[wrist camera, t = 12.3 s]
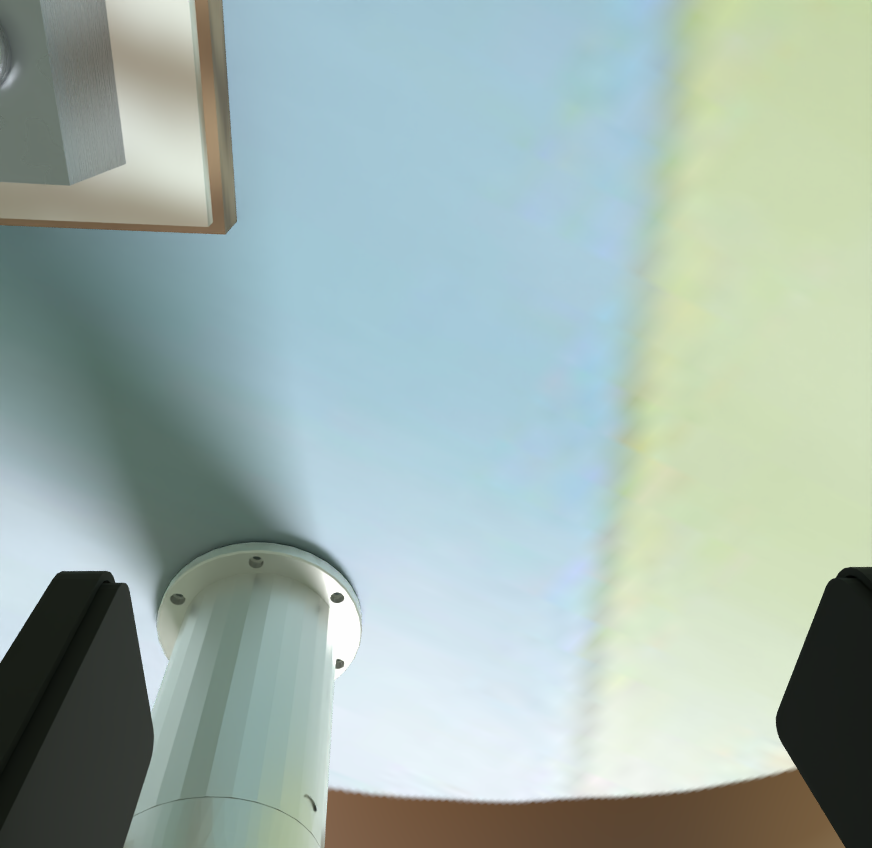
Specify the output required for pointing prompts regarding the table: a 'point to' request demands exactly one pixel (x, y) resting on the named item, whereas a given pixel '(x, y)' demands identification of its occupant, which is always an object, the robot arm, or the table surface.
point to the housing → (57, 92)
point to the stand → (153, 131)
